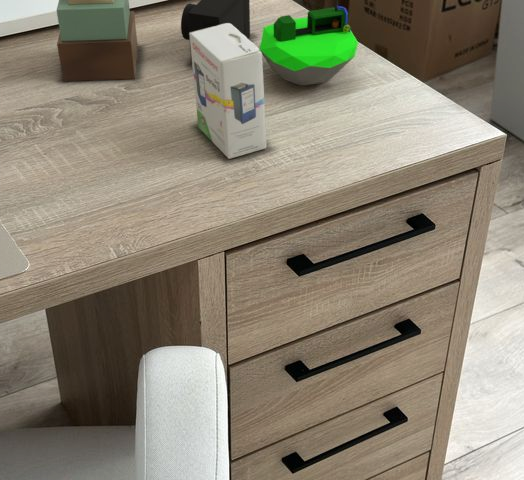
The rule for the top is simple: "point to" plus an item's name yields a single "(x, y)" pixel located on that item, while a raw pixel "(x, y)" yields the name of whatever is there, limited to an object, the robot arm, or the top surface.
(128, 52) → the bottom block
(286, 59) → the toy floating island
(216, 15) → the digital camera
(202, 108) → the ink box
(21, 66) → the top surface
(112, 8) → the top block
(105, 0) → the toy block
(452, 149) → the top surface
